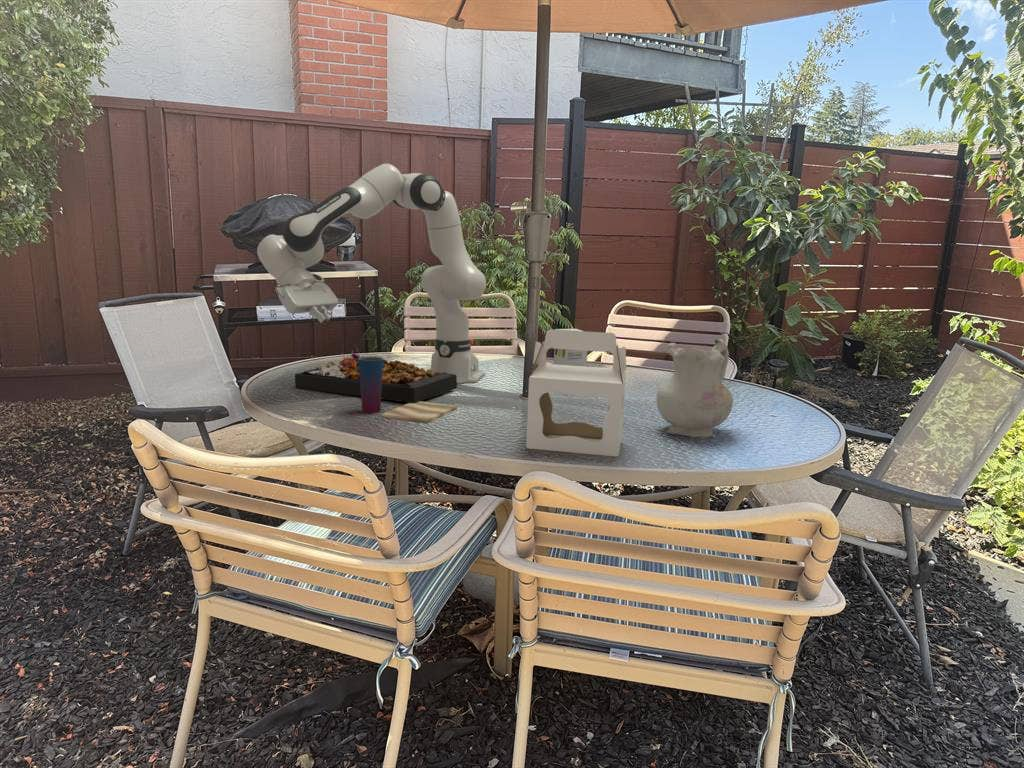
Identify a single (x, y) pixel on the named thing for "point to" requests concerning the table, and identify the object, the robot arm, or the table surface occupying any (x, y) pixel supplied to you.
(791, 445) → the table surface
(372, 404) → the cup
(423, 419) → the wooden board
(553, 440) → the gable box
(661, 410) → the ceramic pitcher
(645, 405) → the table surface
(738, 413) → the table surface
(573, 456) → the table surface
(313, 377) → the food platter
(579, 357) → the supplement box
